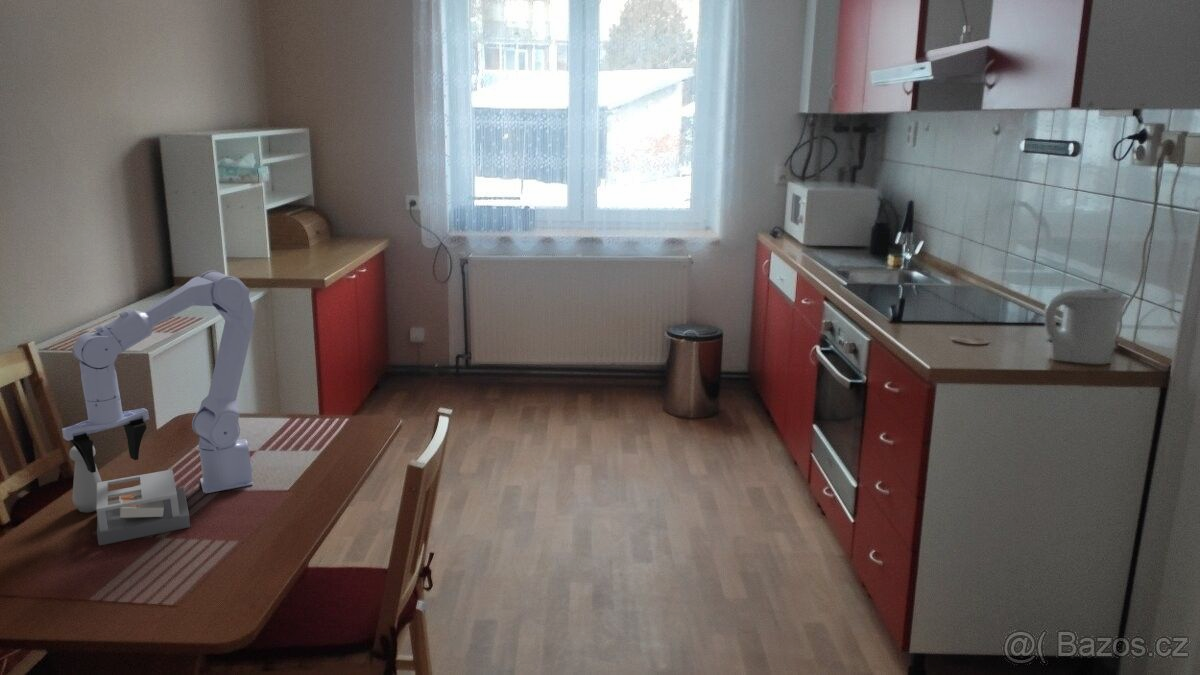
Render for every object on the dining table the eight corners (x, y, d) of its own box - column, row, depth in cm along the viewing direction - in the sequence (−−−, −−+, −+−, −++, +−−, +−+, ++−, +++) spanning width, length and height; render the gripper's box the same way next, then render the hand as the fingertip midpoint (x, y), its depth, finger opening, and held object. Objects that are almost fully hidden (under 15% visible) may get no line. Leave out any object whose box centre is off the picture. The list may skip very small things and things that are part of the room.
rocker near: (161, 506, 167) (162, 496, 167) (163, 516, 163) (164, 507, 163) (119, 506, 164) (120, 497, 164) (120, 517, 160) (121, 507, 159)
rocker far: (160, 485, 173) (157, 477, 172) (162, 495, 169) (158, 487, 168) (122, 500, 170) (118, 491, 169) (123, 510, 166) (119, 501, 165)
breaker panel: (185, 498, 177) (180, 466, 175) (190, 526, 165) (186, 493, 163) (99, 514, 170) (94, 482, 168) (98, 545, 158) (93, 510, 156)
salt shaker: (93, 516, 169) (82, 453, 166) (67, 513, 170) (56, 450, 167) (115, 502, 175) (105, 441, 171) (89, 500, 176) (79, 439, 172)
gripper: (133, 383, 172) (143, 448, 175) (51, 402, 161) (63, 471, 165) (149, 390, 167) (159, 457, 171) (65, 410, 157) (78, 481, 160)
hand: (113, 464), depth 168 cm, fingers open, 7 cm apart
